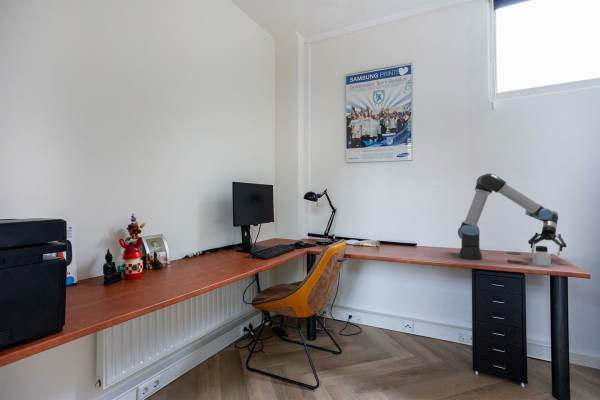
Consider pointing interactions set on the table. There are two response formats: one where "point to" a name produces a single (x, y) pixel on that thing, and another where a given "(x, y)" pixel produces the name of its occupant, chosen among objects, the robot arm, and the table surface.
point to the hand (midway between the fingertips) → (545, 253)
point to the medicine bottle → (541, 256)
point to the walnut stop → (518, 262)
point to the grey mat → (541, 265)
